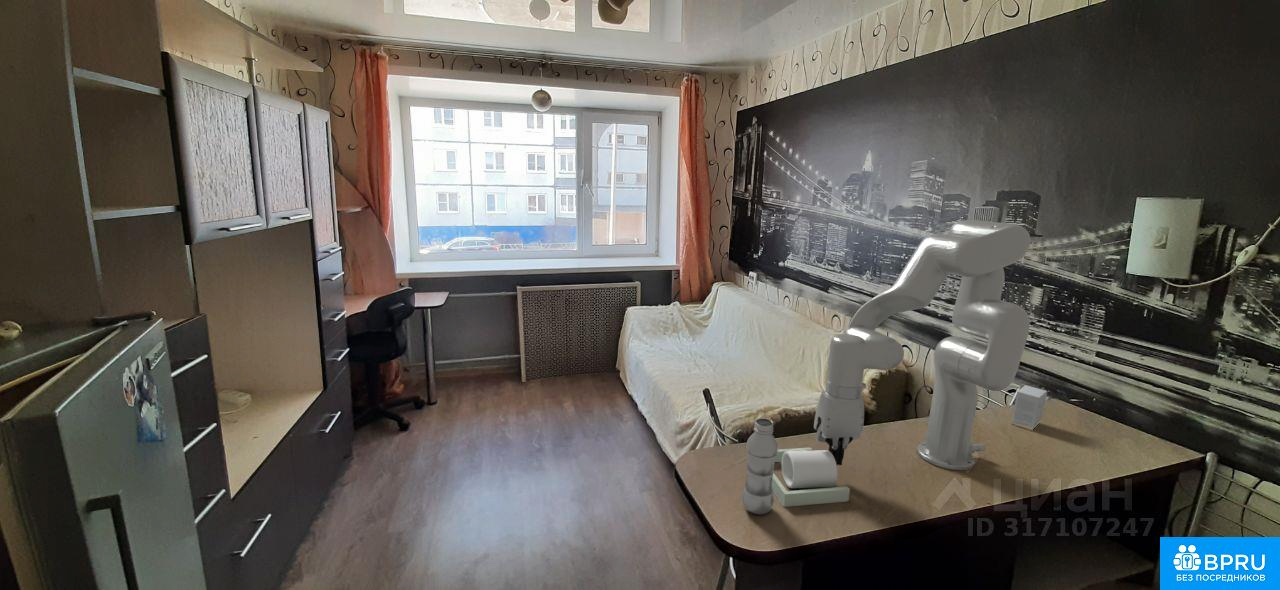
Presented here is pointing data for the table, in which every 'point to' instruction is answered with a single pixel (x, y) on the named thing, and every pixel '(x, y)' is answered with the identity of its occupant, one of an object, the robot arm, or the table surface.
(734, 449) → the table surface
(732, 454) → the table surface
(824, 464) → the mug
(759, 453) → the plastic bottle
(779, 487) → the green u-shaped bracket
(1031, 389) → the small box
